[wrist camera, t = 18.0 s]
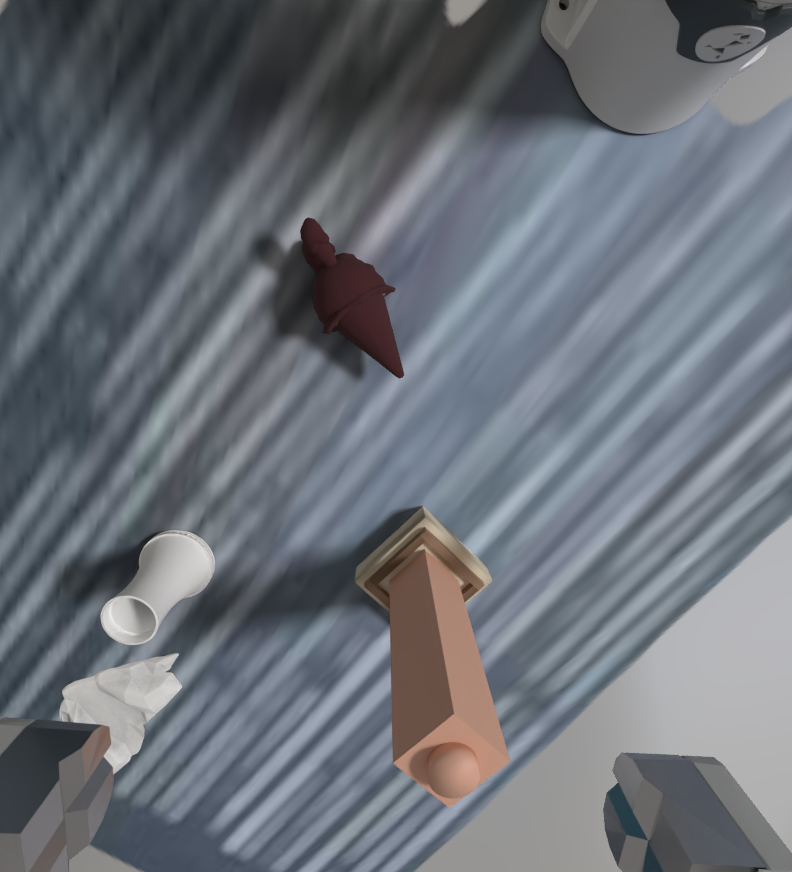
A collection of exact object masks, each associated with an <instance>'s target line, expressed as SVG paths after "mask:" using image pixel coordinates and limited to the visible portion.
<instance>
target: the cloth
mask: <svg viewBox="0 0 792 872" xmlns="http://www.w3.org/2000/svg"><path fill="white" fill-rule="evenodd" d="M178 655H179V654H178V653H172V654H168V655H166V656H159V657H154V658H151V659H147V660H142V661H138V662H134V663H130V664H125V665H123V666H120V667H117V668H112V669H107V670H104V671H101V672H98V673H97V674H96V675H95V676H93V677H89V678H85V679H82V680H78V681H75V682H73V683H71V684H69V685H67V686H66V687H65V688H64V689H63V690H62V693H63V696H64V698H65V699H64V700H63V701H62V703H61V705H60V718H61V721H63V722H75V723H87V724H99V725H105V726H108V727H109V728H110V736H111V745H110V747H109V749H108V750H107V752H106V753H105V755H104V756H103V757H104V758H105V759H106V760H107V761H108V762H109V763H110V764H111V766H112V767H113V774H114V773H116V772H117V771H118V770H119V769H120V768H122V767H123V766H124V765H125V764H126V763H128V762H129V761H130V758H131V756H132V755H134V754H136V753H138V752H139V750H140V748H141V745H142V742H143V739H144V727H143V725H144V724H146V723H147V722H148V721H149V720H150V719H151V718H152V717H153V716H155V715H156V714H157V713H158V712H159V711H160V710H161V709H162V708H163V707H164V706H165V705H166V704H167V703H168V702H169V701H170V700H171V699H172V698H173V697H174V696H175V695H176V694H177V692H178V691H179V690H180V689H181V687H182V686H181V684H180V683H179V681H178V680H177V679H176V677H175V676H174V675H173V673H165V672H166V671H167V670H169V669H170V668H171V666H172V664H173V663H174V661H175V660H176V658H177V656H178Z"/></svg>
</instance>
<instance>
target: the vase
mask: <svg viewBox="0 0 792 872" xmlns="http://www.w3.org/2000/svg"><path fill="white" fill-rule="evenodd" d="M214 570H215V559H214V555H213V553H212V551H211V549H210V547H209V546H208V545H207V543H206V542H205V541H204V540H202V539H201V538H200V537H198V536H197V535H195V534H193V533H190V532H188V531H183V530H168V531H164V532H161V533H159V534H157V535H156V536H154V537H153V538H152V539H151V540H150V541H149V542H148V543H147V544H146V545H145V546H144V548H143V549H142V551H141V554H140V557H139V570H138V572H137V574H136V575H135V577H134V578H133V580H132V581H131V582H130V583H129V585H128V586H127V587H126V588H125V589H124V590H123V591H122V592H120V593H119V594H118V595H117V596H115V597H114V598H113V599H111V600H110V601H108V602H107V603H106V604H105V606H104V607H103V609H102V612H101V623H102V626H103V628H104V630H105V631H106V633H107V634H108V635H109V636H110V637H112V638H113V639H114V640H116V641H118V642H120V643H123V644H128V645H138V644H142V643H145V642H147V641H149V640H150V639H151V638H152V637H153V636H154V635H155V634H156V632H157V630H158V627H159V625H160V624H161V622H162V620H163V619H164V617H165V616H166V614H167V613H168V612H169V610H170V609H171V608H172V607H173V606H174V605H175V604H176V603H177V602H179V601H180V600H181V599H183V598H187V597H191V596H194V595H196V594H198V593H199V592H201V591H202V590H203V589H204V588H205V587H206V586H207V584H208V583H209V581H210V580H211V578H212V576H213V574H214ZM198 590H199V591H198ZM110 614H111V615H110ZM129 633H130V634H129Z"/></svg>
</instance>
